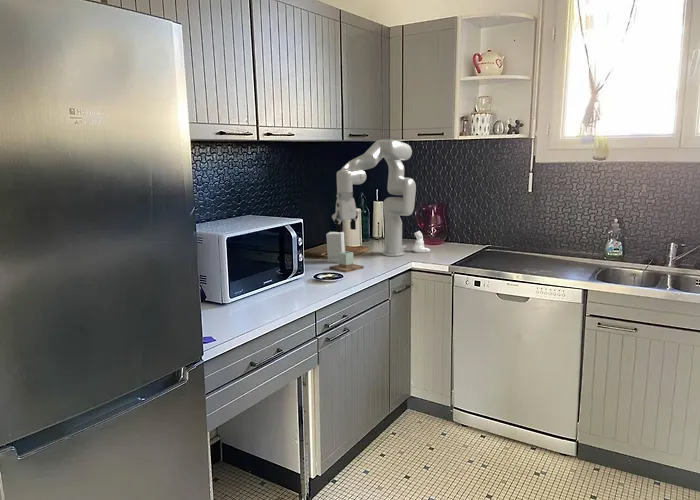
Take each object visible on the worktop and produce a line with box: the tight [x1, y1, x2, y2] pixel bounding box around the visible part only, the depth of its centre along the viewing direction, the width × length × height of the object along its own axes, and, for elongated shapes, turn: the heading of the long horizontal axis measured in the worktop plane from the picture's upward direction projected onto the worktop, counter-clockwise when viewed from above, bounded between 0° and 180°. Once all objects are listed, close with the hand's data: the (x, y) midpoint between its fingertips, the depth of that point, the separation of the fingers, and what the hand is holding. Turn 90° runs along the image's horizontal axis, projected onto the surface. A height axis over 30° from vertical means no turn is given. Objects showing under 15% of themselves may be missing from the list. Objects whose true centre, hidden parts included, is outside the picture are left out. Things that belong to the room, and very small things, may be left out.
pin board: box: [328, 263, 365, 273], centre depth 266 cm, size 12×12×6 cm
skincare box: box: [325, 231, 346, 264], centre depth 280 cm, size 8×7×16 cm
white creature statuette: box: [412, 230, 431, 254], centre depth 302 cm, size 10×9×12 cm
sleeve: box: [338, 250, 355, 268], centre depth 266 cm, size 5×5×7 cm
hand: (346, 230), depth 263 cm, fingers open, 9 cm apart
